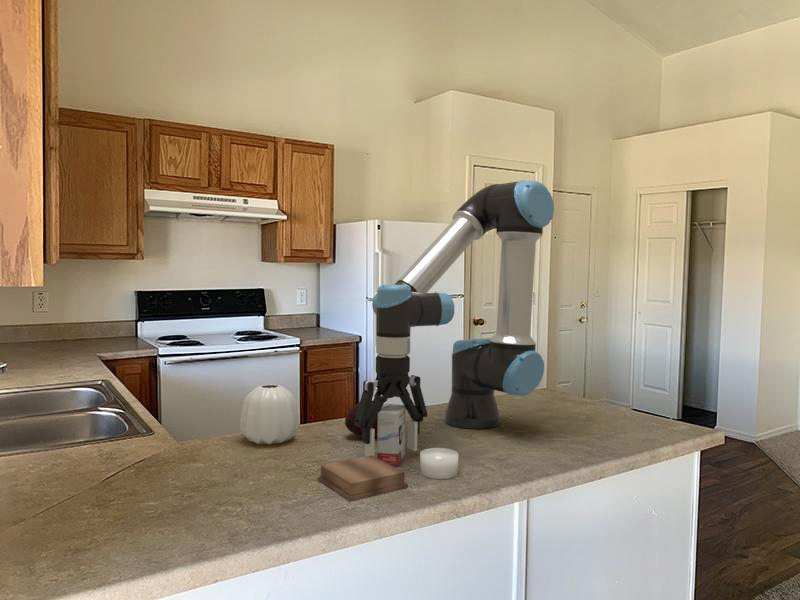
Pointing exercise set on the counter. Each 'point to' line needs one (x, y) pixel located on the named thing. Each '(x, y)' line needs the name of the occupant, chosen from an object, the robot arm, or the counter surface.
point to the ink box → (391, 434)
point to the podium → (362, 477)
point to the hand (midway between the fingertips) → (391, 453)
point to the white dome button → (439, 463)
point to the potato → (351, 417)
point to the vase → (269, 415)
